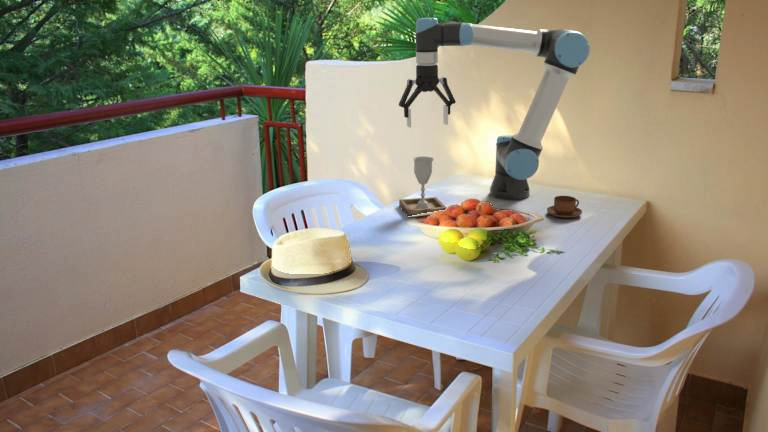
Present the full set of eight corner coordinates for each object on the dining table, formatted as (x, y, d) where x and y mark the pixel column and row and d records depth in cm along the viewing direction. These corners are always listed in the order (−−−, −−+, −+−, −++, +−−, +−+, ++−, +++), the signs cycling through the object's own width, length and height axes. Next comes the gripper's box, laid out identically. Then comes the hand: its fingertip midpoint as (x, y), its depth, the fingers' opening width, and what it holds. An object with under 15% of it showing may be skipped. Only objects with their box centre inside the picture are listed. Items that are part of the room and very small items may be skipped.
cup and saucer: (558, 208, 250) (559, 191, 249) (588, 215, 242) (589, 198, 240) (539, 215, 242) (540, 198, 241) (570, 223, 234) (571, 205, 232)
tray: (435, 203, 257) (436, 197, 256) (446, 214, 244) (447, 207, 243) (399, 206, 254) (399, 199, 253) (408, 217, 241) (408, 210, 240)
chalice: (433, 205, 251) (433, 156, 246) (432, 210, 245) (433, 161, 239) (413, 204, 252) (413, 156, 247) (412, 210, 246) (412, 160, 240)
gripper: (457, 61, 245) (457, 121, 251) (389, 65, 239) (390, 125, 245) (464, 63, 238) (464, 124, 244) (394, 67, 232) (396, 129, 239)
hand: (427, 125), depth 245 cm, fingers open, 13 cm apart
